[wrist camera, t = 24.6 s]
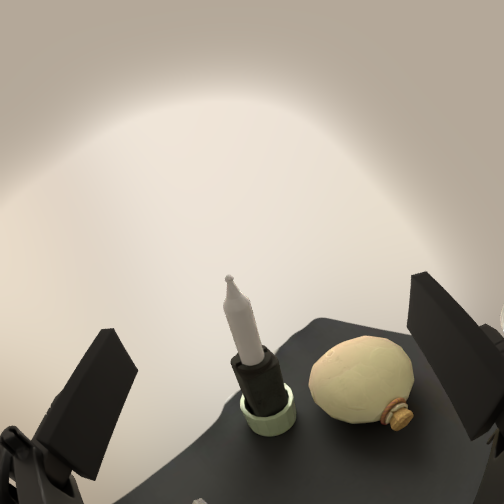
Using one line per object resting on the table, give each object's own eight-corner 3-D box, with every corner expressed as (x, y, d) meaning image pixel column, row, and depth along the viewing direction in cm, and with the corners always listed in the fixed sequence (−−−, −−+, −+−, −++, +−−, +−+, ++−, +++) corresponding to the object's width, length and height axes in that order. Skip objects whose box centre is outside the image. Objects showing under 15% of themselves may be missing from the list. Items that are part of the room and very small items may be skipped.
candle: (249, 412, 39) (197, 276, 30) (276, 397, 41) (239, 259, 32) (265, 433, 35) (214, 294, 26) (294, 416, 37) (262, 273, 27)
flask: (373, 349, 46) (437, 411, 30) (296, 388, 42) (350, 471, 26) (377, 310, 42) (455, 375, 26) (289, 352, 39) (357, 447, 23)
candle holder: (290, 393, 42) (286, 374, 40) (301, 429, 35) (298, 412, 33) (245, 404, 42) (238, 386, 40) (251, 441, 35) (243, 425, 33)
